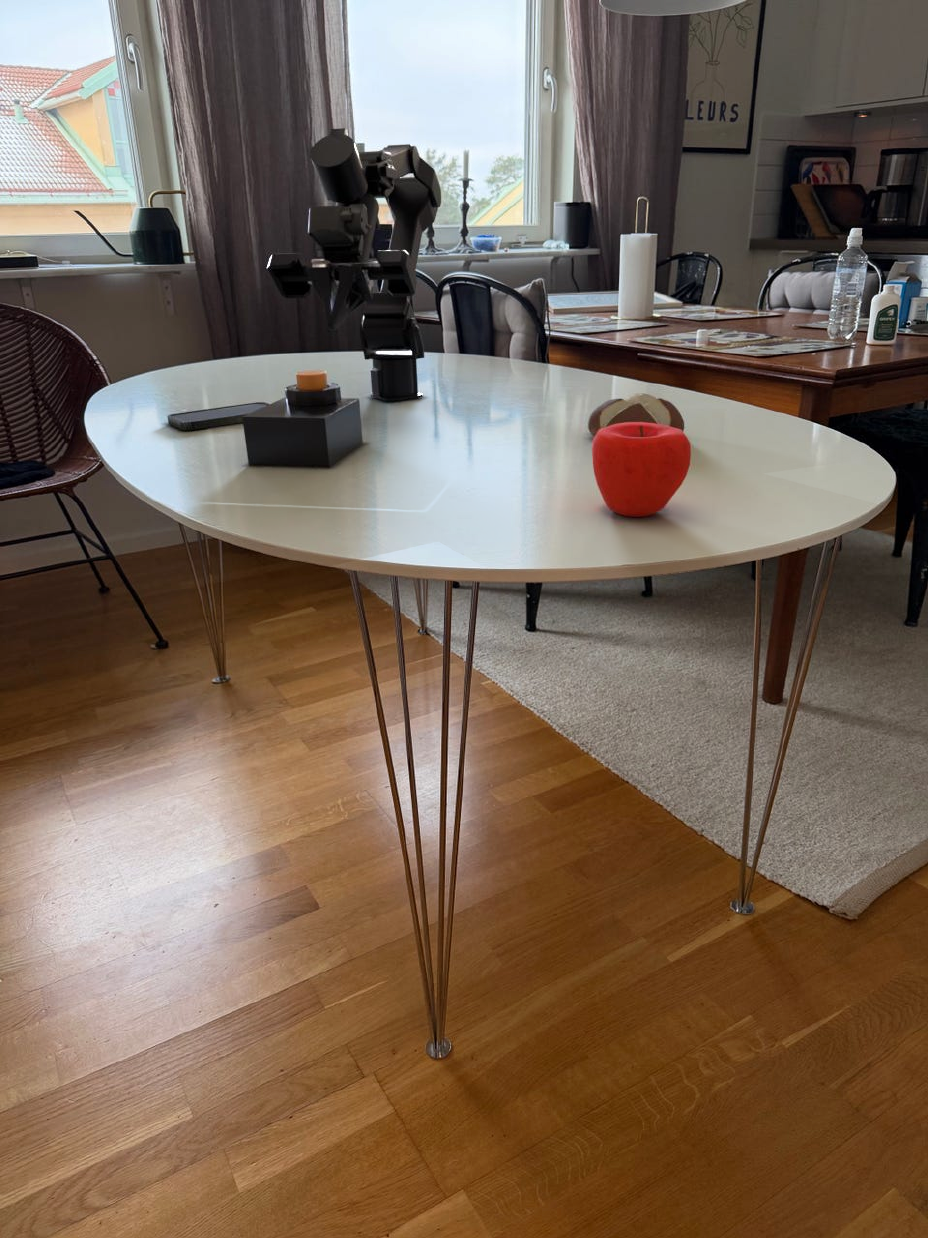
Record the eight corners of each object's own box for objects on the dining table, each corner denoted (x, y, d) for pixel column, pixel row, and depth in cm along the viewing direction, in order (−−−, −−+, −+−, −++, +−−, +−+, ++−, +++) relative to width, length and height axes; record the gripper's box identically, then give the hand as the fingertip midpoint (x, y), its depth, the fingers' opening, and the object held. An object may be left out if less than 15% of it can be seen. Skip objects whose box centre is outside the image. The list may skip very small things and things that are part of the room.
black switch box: (291, 441, 111) (284, 381, 108) (364, 442, 109) (360, 382, 106) (248, 465, 100) (239, 400, 96) (329, 468, 98) (323, 401, 94)
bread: (647, 424, 114) (649, 386, 112) (697, 442, 104) (700, 400, 102) (572, 433, 110) (573, 393, 108) (616, 452, 101) (618, 409, 98)
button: (304, 387, 106) (302, 370, 105) (331, 387, 105) (330, 370, 104) (293, 392, 103) (291, 374, 102) (321, 392, 102) (319, 375, 101)
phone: (165, 414, 123) (262, 401, 131) (166, 422, 124) (263, 408, 131) (183, 423, 117) (284, 408, 125) (184, 431, 118) (285, 415, 125)
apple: (706, 513, 78) (714, 428, 75) (632, 532, 74) (638, 442, 71) (640, 491, 85) (645, 412, 82) (570, 507, 81) (572, 424, 78)
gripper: (263, 184, 108) (236, 283, 103) (405, 177, 104) (384, 280, 99) (294, 250, 118) (272, 343, 113) (425, 246, 115) (407, 342, 109)
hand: (331, 327), depth 108 cm, fingers closed
